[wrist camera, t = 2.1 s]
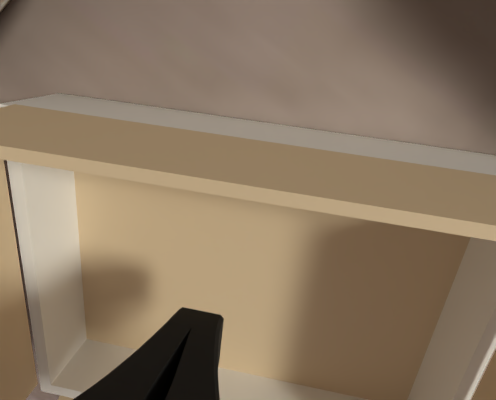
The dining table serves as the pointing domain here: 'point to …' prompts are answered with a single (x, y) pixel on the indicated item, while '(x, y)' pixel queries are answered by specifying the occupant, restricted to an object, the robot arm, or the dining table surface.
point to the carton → (251, 275)
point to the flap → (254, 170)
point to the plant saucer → (3, 4)
